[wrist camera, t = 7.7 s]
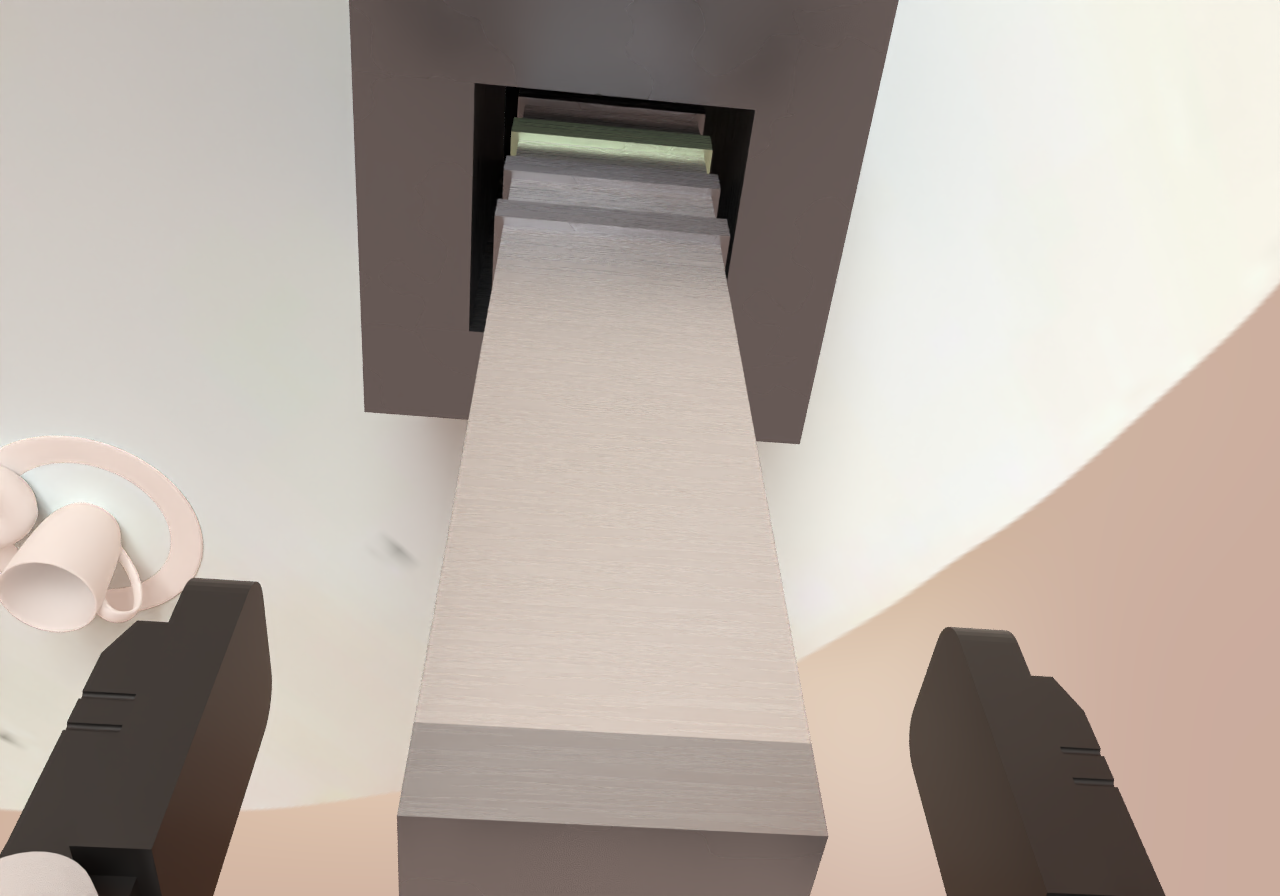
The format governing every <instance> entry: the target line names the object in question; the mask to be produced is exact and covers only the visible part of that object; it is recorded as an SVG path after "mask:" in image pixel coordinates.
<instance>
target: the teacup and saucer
mask: <svg viewBox="0 0 1280 896" xmlns="http://www.w3.org/2000/svg"><path fill="white" fill-rule="evenodd" d="M53 463H78V464H85V465H90V466H95V467H98V468H102V469H105V470H108V471H110V472H113V473H115V474H117V475H119V476H121V477H123V478H125V479H127V480H128V481H130V482H132V483H133V484H135V485H136V486H137V487H139V488H140V489H141V490H143V491H144V492H145V493H146V494H147V495H148V496H149V497H150V498H151V499H152V500H153V501H154V502H155V503H156V505H157V506H158V507H159V509H160V510H161V512H162V513H163V515H164V517H165V519H166V521H167V524H168V526H169V530H170V535H171V547H170V552H169V555H168V558H167V560H166V562H165V563H164V565H163V566H162V568H161V569H160V570H159V571H158V572H157V573H156V574H155V575H153V576H152V577H150V578H149V579H147V580H145V581H143V582H141V580H140V577H139V575H138V572H137V570H136V568H135V566H134V564H133V562H132V560H131V559H130V557H129V556H128V554H127V553H126V552H125V550H124V549H123V547H122V546H121V533H120V528H119V525H118V523H117V521H116V519H115V518H114V517H113V516H112V515H111V514H110V513H109V512H108V511H106V510H105V509H103V508H101V507H99V506H96V505H93V504H90V503H73V504H69V505H66V506H64V507H62V508H60V509H58V510H56V511H55V512H53V513H52V514H50V515H49V516H48V517H47V518H46V519H45V520H44V521H43V522H42V523H41V524H40V525H39V526H38V527H37V528H36V529H35V530H34V531H33V533H32V534H31V535H30V536H29V537H28V539H27V540H26V541H25V542H24V544H23V545H22V546H21V548H20V549H19V550H18V549H17V547H16V546H15V545H14V543H16V542H18V541H19V540H21V539H22V538H24V537H25V536H26V535H27V534H28V533H29V532H30V531H31V529H32V528H33V526H34V524H35V522H36V520H37V517H38V508H37V501H36V498H35V495H34V493H33V491H32V489H31V488H30V486H29V485H28V484H27V483H26V481H25V480H24V479H23V478H21V477H20V475H22V474H23V473H25V472H27V471H29V470H31V469H33V468H36V467H39V466H43V465H47V464H53ZM202 553H203V539H202V533H201V528H200V525H199V522H198V519H197V517H196V515H195V513H194V511H193V509H192V507H191V505H190V504H189V502H188V501H187V499H186V498H185V497H184V495H183V494H182V493H181V492H180V490H179V489H178V488H177V487H176V486H175V485H174V484H173V483H172V482H171V481H170V480H169V479H168V478H167V477H166V476H164V475H163V474H162V473H161V472H159V471H158V470H157V469H155V468H154V467H153V466H151V465H150V464H148V463H147V462H145V461H143V460H142V459H140V458H138V457H136V456H134V455H132V454H130V453H128V452H126V451H124V450H122V449H119V448H117V447H114V446H111V445H108V444H105V443H102V442H98V441H95V440H90V439H85V438H80V437H72V436H39V437H32V438H27V439H22V440H19V441H16V442H13V443H10V444H8V445H5V446H3V447H1V448H0V571H1V572H2V573H1V575H0V601H1V603H2V604H3V606H4V607H5V608H6V609H7V611H8V612H9V613H10V614H12V615H13V616H14V617H15V618H17V619H18V620H20V621H21V622H23V623H25V624H27V625H29V626H31V627H34V628H37V629H40V630H44V631H50V632H70V631H75V630H78V629H80V628H83V627H84V626H86V625H88V624H89V623H90V622H91V621H92V620H93V619H94V617H95V615H96V614H97V615H99V616H100V617H101V618H103V619H105V620H106V621H109V622H114V623H120V622H125V621H128V620H130V619H131V618H133V617H134V616H135V615H136V614H137V613H138V611H142V610H146V609H149V608H152V607H155V606H158V605H160V604H163V603H165V602H167V601H168V600H170V599H172V598H173V597H175V596H176V595H178V594H179V593H180V592H181V591H183V589H184V587H185V585H186V583H187V582H188V581H189V580H190V579H191V578H194V576H195V574H196V573H197V571H198V568H199V566H200V563H201V559H202ZM118 561H119V562H120V563H121V565H122V566H123V568H124V569H125V571H126V573H127V575H128V577H129V580H130V582H131V585H132V586H129V587H124V588H117V589H108V587H109V584H110V582H111V579H112V576H113V574H114V571H115V568H116V565H117V562H118Z"/></svg>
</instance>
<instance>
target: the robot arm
mask: <svg viewBox="0 0 1280 896" xmlns="http://www.w3.org/2000/svg"><path fill="white" fill-rule="evenodd" d="M271 691H272V674H271V664H270V655H269V646H268V637H267V628H266V619H265V610H264V600H263V593H262V588H261V586H260V584H259V583H258V582H251V581H235V580H219V579H203V578H191V579H190V580H189V581H188V582H187V583H186V585H185V587H184V589H183V591H182V593H181V595H180V598H179V600H178V602H177V604H176V607H175V609H174V611H173V613H172V616H171V618H170V620H169V622H152V621H136V622H135V623H134V624H133V625H132V626H131V627H130V628H129V629H127V630H126V631H125V632H124V633H123V634H122V635H121V636H120V637H119V638H117V639H116V640H115V641H114V642H113V643H112V644H111V645H110V646H109V647H108V648H106V649H105V650H104V651H103V652H102V653H101V655H100V657H99V659H98V661H97V663H96V665H95V667H94V669H93V671H92V673H91V675H90V677H89V679H88V681H87V683H86V685H85V687H84V689H83V695H82V698H81V699H78V701H77V703H76V705H75V707H74V709H73V711H72V713H71V715H70V717H69V719H68V721H67V728H66V730H63V731H62V733H61V735H60V737H59V739H58V741H57V743H56V745H55V747H54V749H53V751H52V753H51V755H50V757H49V759H48V761H47V763H46V765H45V767H44V769H43V771H42V773H41V775H40V777H39V779H38V781H37V783H36V785H35V787H34V789H33V791H32V793H31V795H30V797H29V799H28V801H27V803H26V805H25V807H24V809H23V811H22V814H21V815H20V818H19V820H18V822H17V824H16V826H15V828H14V830H13V832H12V834H11V836H10V838H9V840H8V842H7V844H6V845H5V847H4V849H3V850H2V852H1V854H0V896H213V894H214V891H215V888H216V885H217V882H218V878H219V875H220V872H221V869H222V865H223V862H224V859H225V856H226V853H227V849H228V846H229V843H230V840H231V837H232V834H233V831H234V827H235V824H236V821H237V818H238V815H239V811H240V808H241V805H242V802H243V799H244V796H245V792H246V789H247V786H248V783H249V780H250V776H251V773H252V770H253V767H254V764H255V761H256V757H257V754H258V751H259V748H260V745H261V741H262V738H263V735H264V732H265V728H266V725H267V720H268V715H269V709H270V702H271ZM909 746H910V757H911V763H912V767H913V771H914V775H915V779H916V783H917V786H918V790H919V794H920V797H921V801H922V805H923V809H924V812H925V816H926V820H927V823H928V827H929V831H930V835H931V838H932V842H933V846H934V850H935V853H936V857H937V861H938V865H939V868H940V872H941V876H942V880H943V883H944V887H945V891H946V894H947V896H1165V894H1164V891H1163V889H1162V887H1161V885H1160V882H1159V880H1158V878H1157V876H1156V873H1155V871H1154V869H1153V866H1152V864H1151V862H1150V860H1149V857H1148V855H1147V853H1146V851H1145V848H1144V846H1143V844H1142V842H1141V839H1140V837H1139V835H1138V832H1137V830H1136V828H1135V826H1134V823H1133V821H1132V819H1131V817H1130V814H1129V812H1128V810H1127V807H1126V805H1125V803H1124V801H1123V798H1122V796H1121V794H1120V792H1119V789H1118V788H1117V787H1114V778H1113V776H1112V774H1111V771H1110V769H1109V767H1108V765H1107V762H1106V760H1105V758H1104V756H1101V755H1100V746H1099V744H1098V742H1097V740H1096V737H1095V735H1094V733H1093V730H1092V728H1091V726H1090V724H1089V722H1088V719H1087V717H1086V715H1085V712H1084V711H1083V710H1082V709H1081V707H1080V706H1079V705H1078V704H1077V703H1076V702H1075V701H1074V700H1073V699H1072V698H1071V697H1070V696H1069V695H1068V694H1067V692H1066V691H1065V690H1064V689H1063V688H1062V687H1061V686H1060V685H1059V684H1058V683H1057V682H1056V681H1055V679H1054V678H1053V677H1043V676H1031V675H1030V672H1029V669H1028V667H1027V665H1026V662H1025V660H1024V657H1023V655H1022V652H1021V650H1020V647H1019V645H1018V643H1017V640H1016V638H1015V637H1014V636H1013V634H1012V633H1010V632H1009V631H1004V630H989V629H972V628H956V627H947V628H945V629H944V630H943V631H942V632H941V634H940V636H939V638H938V641H937V644H936V647H935V649H934V652H933V655H932V658H931V661H930V664H929V667H928V669H927V673H926V675H925V678H924V681H923V684H922V687H921V690H920V693H919V695H918V698H917V701H916V704H915V707H914V710H913V714H912V718H911V724H910V734H909Z"/></svg>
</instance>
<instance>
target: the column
mask: <svg viewBox="0 0 1280 896" xmlns="http://www.w3.org/2000/svg"><path fill="white" fill-rule="evenodd" d="M705 115H706V114H705V109H704V105H698V104H688V103H677V102H667V101H656V100H646V99H636V98H625V97H615V96H605V95H594V94H584V93H574V92H563V91H553V90H543V89H532V88H522V87H520V90H519V95H518V113H517V117H514V121H513V126H512V131H511V152H510V156H509V155H507V156H506V161H505V166H504V176H503V199H498V201H497V206H496V211H495V220H494V248H493V277H492V292H491V297H490V303H489V308H488V314H487V319H486V325H485V331H484V336H483V342H482V347H481V353H480V358H479V364H478V369H477V375H476V381H475V386H474V392H473V397H472V403H471V408H470V414H469V419H468V425H467V431H466V436H465V442H464V447H463V453H462V458H461V464H460V469H459V475H458V480H457V486H456V492H455V497H454V503H453V508H452V514H451V519H450V525H449V530H448V536H447V542H446V547H445V553H444V558H443V564H442V569H441V575H440V580H439V586H438V592H437V597H436V603H435V608H434V614H433V619H432V625H431V630H430V636H429V642H428V647H427V653H426V658H425V664H424V669H423V675H422V680H421V686H420V692H419V697H418V703H417V708H416V714H415V719H414V725H413V730H412V736H411V742H410V747H409V753H408V758H407V764H406V769H405V775H404V780H403V786H402V792H401V798H400V803H399V808H398V814H397V826H398V827H397V831H398V872H399V896H810V892H811V889H812V886H813V883H814V880H815V877H816V874H817V871H818V867H819V863H820V861H821V858H822V855H823V851H824V848H825V845H826V842H827V839H828V832H827V826H826V821H825V815H824V810H823V805H822V799H821V794H820V788H819V783H818V778H817V772H816V767H815V761H814V755H813V750H812V744H811V739H810V734H809V728H808V723H807V717H806V712H805V706H804V701H803V695H802V690H801V684H800V679H799V673H798V668H797V662H796V657H795V651H794V646H793V641H792V635H791V630H790V624H789V619H788V613H787V608H786V602H785V597H784V591H783V586H782V580H781V575H780V569H779V564H778V558H777V553H776V548H775V542H774V537H773V531H772V526H771V520H770V515H769V509H768V504H767V498H766V493H765V487H764V482H763V476H762V471H761V466H760V460H759V455H758V449H757V444H756V438H755V433H754V427H753V422H752V416H751V411H750V405H749V400H748V394H747V389H746V384H745V378H744V373H743V367H742V362H741V356H740V351H739V345H738V340H737V334H736V329H735V323H734V318H733V312H732V307H731V302H730V296H729V291H728V285H727V280H726V274H725V266H726V259H727V253H728V247H729V241H730V233H729V228H728V223H727V219H719V218H716V217H717V210H718V204H719V197H720V191H721V189H720V184H719V179H718V175H715V174H709V173H710V166H711V159H712V152H713V149H712V144H711V139H710V136H707V135H703V129H704V122H705Z"/></svg>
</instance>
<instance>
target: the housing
mask: <svg viewBox="0 0 1280 896" xmlns="http://www.w3.org/2000/svg"><path fill="white" fill-rule="evenodd" d="M898 1H899V0H349V9H350V35H351V62H352V89H353V115H354V142H355V168H356V195H357V222H358V248H359V275H360V301H361V328H362V354H363V381H364V408H365V412H373V413H386V414H400V415H413V416H427V417H440V418H454V419H467V420H468V419H469V414H470V408H471V403H472V397H473V392H474V386H475V381H476V375H477V369H478V364H479V358H480V353H481V347H482V342H483V336H484V331H485V325H486V319H487V314H488V308H489V303H490V297H491V292H492V277H493V248H494V220H495V211H496V206H497V201H498V199H503V176H504V166H505V160H504V135H505V109H506V86H512V87H522V88H532V89H543V90H553V91H563V92H574V93H584V94H594V95H605V96H615V97H625V98H636V99H646V100H656V101H667V102H677V103H688V104H698V105H704V109H705V114H706V115H705V122H704V129H703V135H707V136H710V139H711V144H712V149H713V152H712V159H711V166H710V173H709V174H715V175H718V179H719V184H720V189H721V191H720V197H719V204H718V210H717V217H716V218H719V219H727V223H728V228H729V233H730V241H729V247H728V253H727V259H726V266H725V274H726V280H727V285H728V291H729V296H730V302H731V307H732V312H733V318H734V323H735V329H736V334H737V340H738V345H739V351H740V356H741V362H742V367H743V373H744V378H745V384H746V389H747V394H748V400H749V405H750V411H751V416H752V422H753V427H754V433H755V438H756V441H763V442H777V443H790V444H800V440H801V435H802V431H803V426H804V422H805V417H806V413H807V408H808V404H809V399H810V395H811V390H812V386H813V382H814V377H815V373H816V368H817V364H818V359H819V355H820V350H821V346H822V341H823V337H824V332H825V328H826V323H827V319H828V314H829V310H830V305H831V301H832V296H833V292H834V287H835V283H836V278H837V274H838V269H839V265H840V261H841V256H842V252H843V247H844V243H845V238H846V234H847V229H848V225H849V220H850V216H851V211H852V207H853V202H854V198H855V193H856V189H857V184H858V180H859V175H860V171H861V166H862V162H863V157H864V153H865V148H866V144H867V139H868V135H869V131H870V126H871V122H872V117H873V113H874V108H875V104H876V99H877V95H878V90H879V86H880V81H881V77H882V72H883V68H884V63H885V59H886V54H887V50H888V45H889V41H890V36H891V32H892V27H893V23H894V18H895V14H896V10H897V5H898Z"/></svg>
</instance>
